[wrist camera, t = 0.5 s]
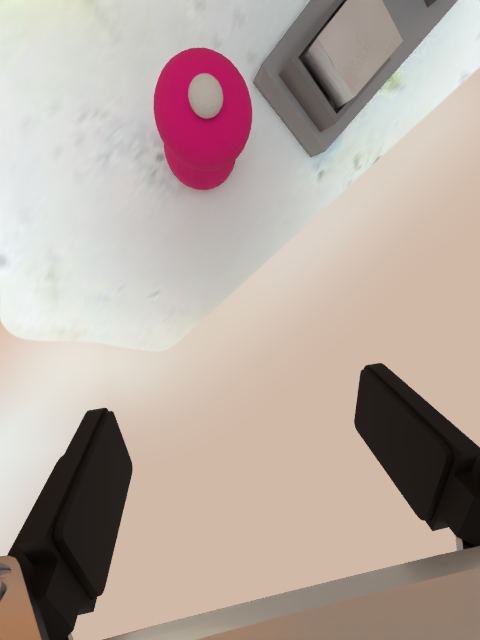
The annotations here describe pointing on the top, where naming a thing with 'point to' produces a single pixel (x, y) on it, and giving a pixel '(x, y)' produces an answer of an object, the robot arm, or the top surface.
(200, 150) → the pepper mill
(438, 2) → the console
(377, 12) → the grey button
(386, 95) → the top surface
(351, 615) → the robot arm
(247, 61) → the top surface
